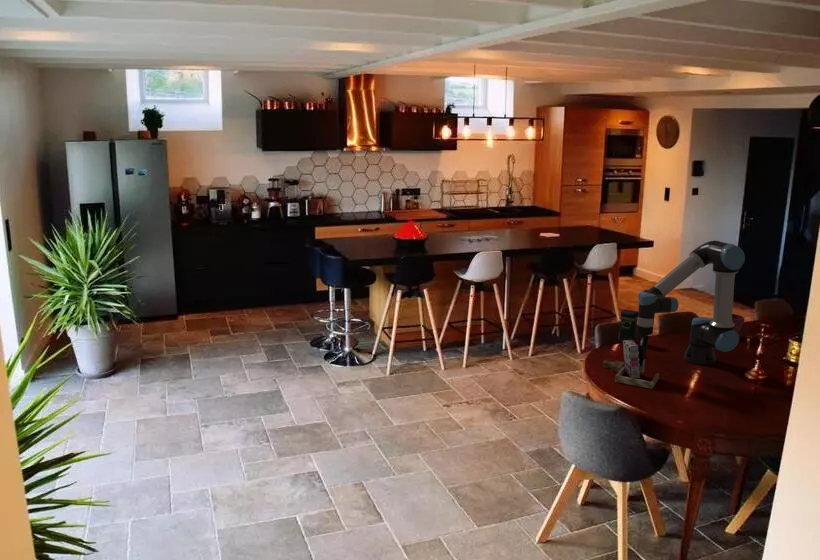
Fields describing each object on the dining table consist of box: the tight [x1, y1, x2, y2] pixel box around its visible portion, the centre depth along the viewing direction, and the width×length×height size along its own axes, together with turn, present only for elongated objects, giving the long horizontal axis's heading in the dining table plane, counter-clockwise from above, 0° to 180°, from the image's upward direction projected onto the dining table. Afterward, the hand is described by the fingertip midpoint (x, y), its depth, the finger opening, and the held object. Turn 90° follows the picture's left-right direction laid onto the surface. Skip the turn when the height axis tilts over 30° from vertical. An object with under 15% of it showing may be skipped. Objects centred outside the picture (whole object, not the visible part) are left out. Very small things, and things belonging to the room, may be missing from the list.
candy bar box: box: [622, 340, 641, 379], centre depth 335 cm, size 11×5×16 cm, turn 178°
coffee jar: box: [618, 308, 638, 343], centre depth 389 cm, size 10×8×19 cm
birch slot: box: [614, 366, 660, 390], centre depth 330 cm, size 17×15×3 cm
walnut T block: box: [602, 360, 625, 373], centre depth 347 cm, size 9×10×2 cm
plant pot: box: [732, 313, 745, 335], centre depth 403 cm, size 14×14×13 cm
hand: (640, 371), depth 337 cm, fingers closed
